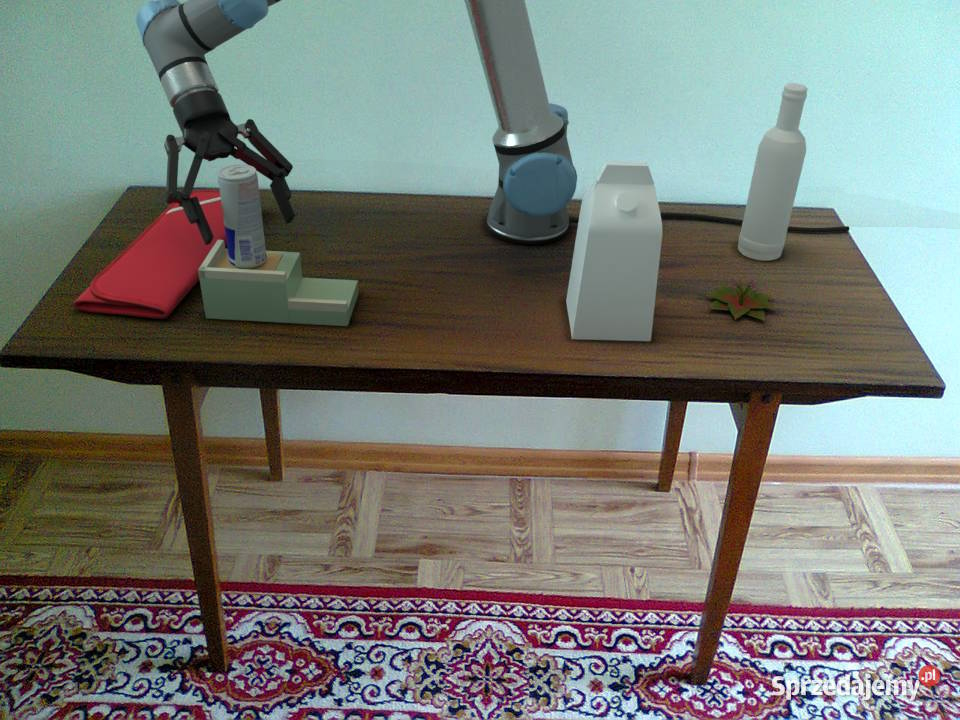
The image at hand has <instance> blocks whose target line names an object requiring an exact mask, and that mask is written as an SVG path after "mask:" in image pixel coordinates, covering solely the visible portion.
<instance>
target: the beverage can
mask: <svg viewBox="0 0 960 720" xmlns="http://www.w3.org/2000/svg"><path fill="white" fill-rule="evenodd" d="M217 181H218V189H219V191H220V197H221V204H222V211H223V218H224V226H225V233H226V240H227V246H226V247H227V249H228V255H229V261H230V263H231V264H232V265H233V266H235V267H238V268H245V269H248V268H254V267H258V266H260V265H262V264H263V263H264V262H265V261H266V259H267V257H266V251H267V249H266V240H265V231H264V222H263V213H262V205H261V203H262V202H261V195H260V187H259V178H258V173H257V171H256V169H255V168H254V167H253V166H250V165H247V164H241V163H238V164H230V165H227V166H224V167H221V168H220V169H219V170H218V171H217Z"/></svg>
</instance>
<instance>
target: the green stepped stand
mask: <svg viewBox="0 0 960 720" xmlns="http://www.w3.org/2000/svg"><path fill="white" fill-rule="evenodd" d="M266 257H267V259H266V261H265V262H264V263H263V264H262V265H260V266H258V267H254V268H248V269H245V268H238V267H235V266H233V265H232V264H231V263H230V261H229V255H228V248H226V247H225V244H224V240H217V242H216V243H215V245H214V246H213V248H212V249H211V251H210V252H209V254H208V255H207V257H206V259H205V260H204V262H203V263H202V265H201V266H200V268H199V269H198V272H199V278H200V279H199V284H200V290H201V298H202V301H203V309H204V315H205V319H212V320H228V321H246V322H261V323H262V322H266V323H279V324H280V323H281V324H282V323H283V324H301V325H318V326H334V327H335V326H337V327H349V324H350V320H351V318H352V315H353V312H354V308H355V305H356V303H357V300H358V298H359V297H358V296H359V295H360V294H359V293H360V292H359V280H356V279H355V280H353V279H339V278H338V279H336V278H321V277H319V278H316V277H303V269H302V259H301V252H299V251H298V252H297V251H296V252H295V251H293V252H292V251H279V250H277V251H276V250H266Z"/></svg>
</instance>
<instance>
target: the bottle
mask: <svg viewBox="0 0 960 720" xmlns="http://www.w3.org/2000/svg"><path fill="white" fill-rule="evenodd" d="M807 92H808V87H807V86H806V85H805V84H803V83H796V82H790V83H786V84H785V85H784V88H783V91H782V93H781V101H780V106H779V110H778V114H777V119H776V123H775V126H773V127H772V128H770V129H769V130H767V131H766V132H765V133H764V135H763V136H762V138H761V141H760V142H759V144H758V147H757V153H756V157H755V162H754V166H753V171H752V176H751V180H750V185H749V190H748V196H747V201H746V205H745V210H744V213H743V219H742V220H743V223H742V225H741V227H740V228H741V229H740V232H739V235H738V239H737V240H738V244H737V250H738V252H740V254H741V255H742V256H744V257H747V258H748V259H751V260H754V261H762V262H770V261H775V260H777V259H779V258H781V256H782V254H783V250H784V247H785V244H786V237H787V233H788V231H787V229H788V226H790V220H791V216H792V212H793V209H794V203H795V199H796V195H797V191H798V187H799V183H800V179H801V175H802V171H803V166H804V162H805V158H806V154H807V143H806V142H807V141H806V137H805V136H804V134H803V133H802V132H801V130H800V129H799V127H800V122H801V118H802V115H803V110H804V106H805V101H806V100H807V97H808V93H807Z"/></svg>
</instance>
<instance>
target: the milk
mask: <svg viewBox="0 0 960 720" xmlns="http://www.w3.org/2000/svg"><path fill="white" fill-rule="evenodd" d="M650 170H651V169H650V167H649V165H648V162H647V161H646V162H643V161H641V162H640V161H613V160H612V161H608V160H606V161H605V162H604V164H603V166H602V168H601V169H600V171H599V173H598V175H597V177H596V179H595V180H594V181H593V182H592V184H591V185H590V186H589V187H588V189H587V190H586V191H585V192H584V194H583V196H582V199H581V202H580V203H581V204H580V210H579V216H578V218H579V222H578V223H577V229H576V235H575V242H574V249H573V253H572V261H571V268H570V274H569V281H568V286H567V292H566V299H565V302H566V310H567V316H568V322H569V329H570V336H571V340H583V341H584V340H586V341H592V340H593V341H621V342H622V341H623V342H624V341H625V342H628V341H629V342H651V341H652V335H653V323H654V315H655V306H656V298H657V297H656V295H657V287H658V278H659V268H660V261H661V260H660V259H661V250H662V243H663V242H662V241H663V221H662V217H661V215H660V213H661V209H660V205H659V200H658V194H657V190H656V186H655V182H654V179H653V176H652V173H651V171H650Z"/></svg>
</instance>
